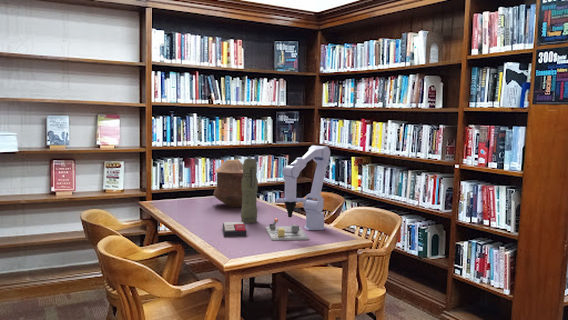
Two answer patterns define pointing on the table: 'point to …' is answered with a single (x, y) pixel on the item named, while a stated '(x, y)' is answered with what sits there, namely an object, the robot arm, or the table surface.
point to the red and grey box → (234, 229)
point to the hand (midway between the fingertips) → (289, 217)
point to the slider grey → (294, 228)
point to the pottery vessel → (229, 183)
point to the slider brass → (281, 232)
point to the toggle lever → (275, 222)
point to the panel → (286, 233)
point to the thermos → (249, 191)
